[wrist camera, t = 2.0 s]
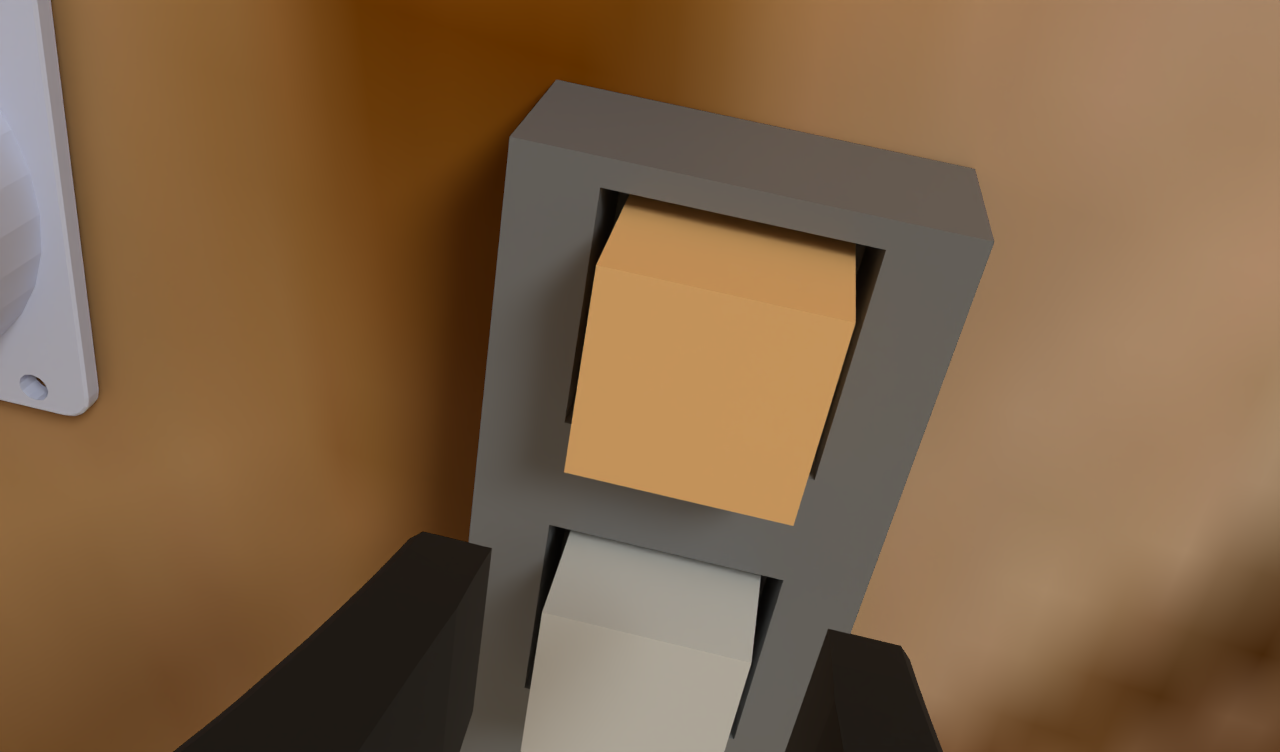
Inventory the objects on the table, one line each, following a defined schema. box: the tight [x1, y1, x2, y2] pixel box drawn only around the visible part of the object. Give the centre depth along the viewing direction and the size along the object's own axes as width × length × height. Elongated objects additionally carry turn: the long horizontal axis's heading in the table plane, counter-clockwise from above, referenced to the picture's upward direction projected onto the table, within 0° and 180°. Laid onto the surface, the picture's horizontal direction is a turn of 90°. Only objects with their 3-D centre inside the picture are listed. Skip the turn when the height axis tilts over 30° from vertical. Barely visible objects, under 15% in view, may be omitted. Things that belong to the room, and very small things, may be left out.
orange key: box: [564, 194, 856, 526], centre depth 14 cm, size 3×3×2 cm
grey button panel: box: [460, 80, 994, 752], centre depth 18 cm, size 6×15×2 cm, turn 170°
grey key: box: [521, 530, 761, 752], centre depth 17 cm, size 3×3×2 cm
